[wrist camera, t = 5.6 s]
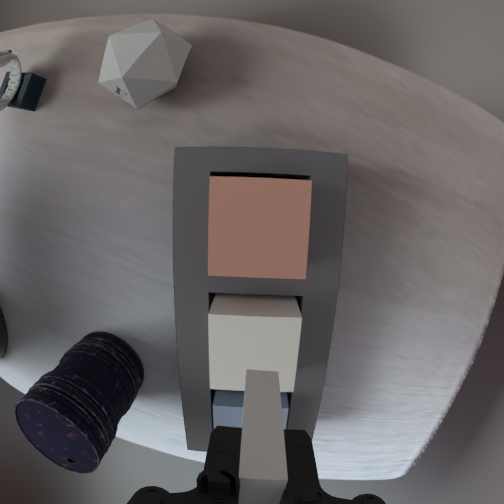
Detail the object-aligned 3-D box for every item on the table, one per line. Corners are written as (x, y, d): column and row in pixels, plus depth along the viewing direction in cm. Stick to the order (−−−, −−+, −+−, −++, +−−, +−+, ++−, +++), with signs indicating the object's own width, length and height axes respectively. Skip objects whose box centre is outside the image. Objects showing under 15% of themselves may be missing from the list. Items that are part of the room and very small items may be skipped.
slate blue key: (219, 423, 33) (214, 452, 28) (218, 376, 31) (212, 405, 26) (279, 425, 33) (281, 454, 28) (284, 379, 31) (288, 408, 26)
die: (115, 61, 28) (68, 91, 22) (156, 2, 23) (111, 13, 17) (168, 98, 32) (134, 136, 26) (215, 43, 27) (189, 65, 20)
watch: (52, 65, 27) (-2, 39, 17) (30, 124, 29) (-31, 113, 18) (25, 63, 27) (-27, 42, 16) (5, 119, 29) (-52, 110, 18)
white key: (216, 359, 29) (209, 388, 25) (216, 292, 28) (208, 313, 23) (288, 362, 29) (293, 391, 24) (294, 295, 28) (302, 317, 23)
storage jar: (65, 337, 35) (-2, 397, 20) (124, 323, 34) (59, 396, 19) (98, 398, 36) (51, 470, 22) (157, 391, 36) (119, 477, 21)
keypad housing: (195, 418, 36) (187, 449, 31) (190, 154, 30) (174, 147, 24) (303, 422, 36) (308, 454, 30) (331, 160, 30) (347, 154, 24)
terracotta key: (216, 259, 27) (207, 275, 22) (218, 178, 26) (209, 176, 21) (297, 262, 27) (305, 279, 22) (301, 181, 26) (311, 180, 21)
